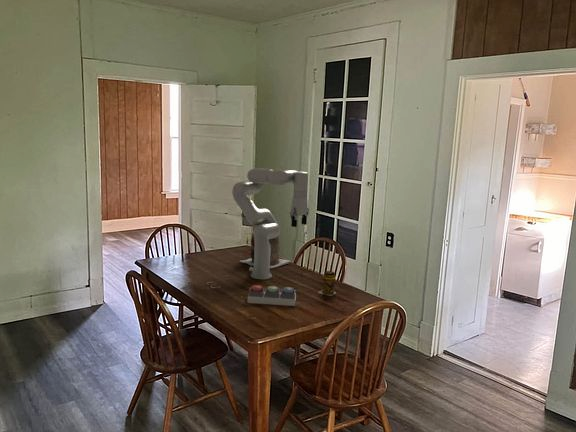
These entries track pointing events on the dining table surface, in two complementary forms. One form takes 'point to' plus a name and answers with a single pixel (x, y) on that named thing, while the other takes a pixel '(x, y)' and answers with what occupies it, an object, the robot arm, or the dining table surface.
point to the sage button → (272, 289)
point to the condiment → (328, 284)
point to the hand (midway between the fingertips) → (299, 225)
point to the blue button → (288, 290)
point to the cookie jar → (273, 256)
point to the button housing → (272, 297)
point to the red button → (257, 288)
